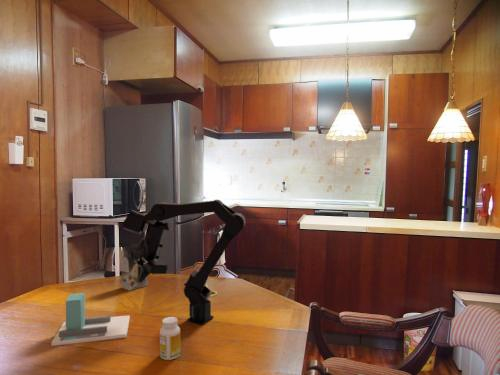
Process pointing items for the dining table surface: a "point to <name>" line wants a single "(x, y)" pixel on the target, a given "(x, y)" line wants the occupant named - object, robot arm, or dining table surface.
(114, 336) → the white rail base plate
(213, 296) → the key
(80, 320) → the switch tab
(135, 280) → the coffee box
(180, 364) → the dining table surface
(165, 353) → the supplement bottle
